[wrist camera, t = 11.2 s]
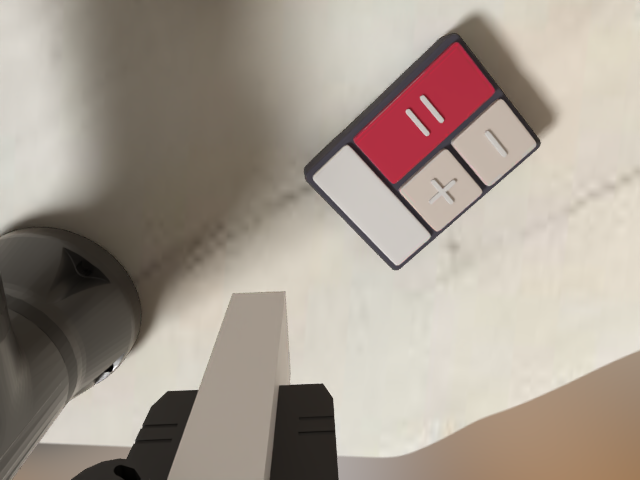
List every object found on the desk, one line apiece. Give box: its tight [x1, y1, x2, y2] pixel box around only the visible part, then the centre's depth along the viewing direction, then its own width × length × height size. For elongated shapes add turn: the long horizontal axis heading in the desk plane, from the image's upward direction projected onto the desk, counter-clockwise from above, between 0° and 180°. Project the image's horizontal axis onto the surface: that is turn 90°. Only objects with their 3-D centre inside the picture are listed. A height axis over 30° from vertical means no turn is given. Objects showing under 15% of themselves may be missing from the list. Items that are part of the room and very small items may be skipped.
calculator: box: [304, 33, 541, 270], centre depth 37 cm, size 11×4×15 cm
